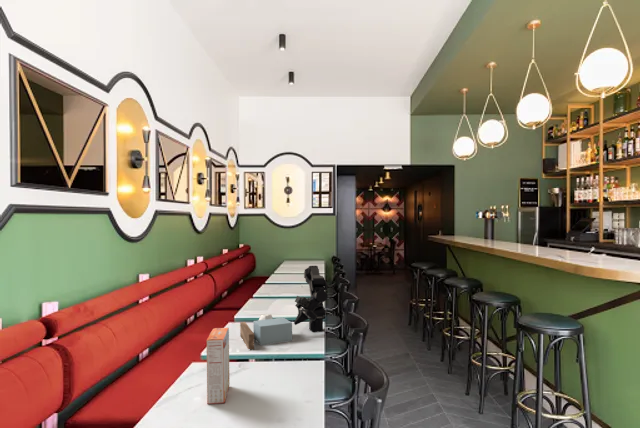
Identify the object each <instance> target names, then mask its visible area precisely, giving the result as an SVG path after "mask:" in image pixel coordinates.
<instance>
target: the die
mask: <svg viewBox="0 0 640 428" xmlns="http://www.w3.org/2000/svg"><path fill="white" fill-rule="evenodd" d="M266 319H274V318H273V316H272V314H267V313H266V314H261V315H260V317H259V319H258V320H266Z"/></svg>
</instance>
